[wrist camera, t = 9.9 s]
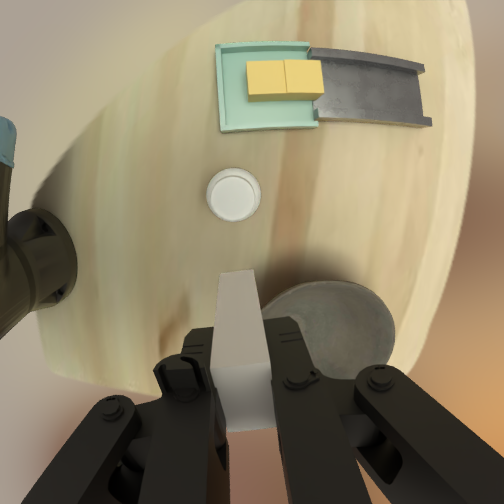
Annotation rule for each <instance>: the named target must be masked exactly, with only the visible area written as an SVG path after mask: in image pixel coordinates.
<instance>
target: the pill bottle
mask: <svg viewBox="0 0 504 504" xmlns="http://www.w3.org/2000/svg"><path fill="white" fill-rule="evenodd" d="M206 198H207V203H208V206H209V208H210V209H211V211H212V212H213V213H214V214H215V215H216V216H217V217H218V218H220V219H222V220H225V221H229V222H238V221H242V220H245V219H247V218H249V217H250V216H251V215H252V214H253V213H254V212H255V211H256V210H257V208H258V206H259V204H260V200H261V189H260V185H259V183H258V181H257V180H256V178H255V177H254V176H253V175H252V174H251V173H250V172H248V171H246V170H244V169H241V168H236V167H234V168H228V169H224V170H222V171H220V172H218V173H217V174H216V175H215V176H214V177H213V178H212V179H211V181H210V182H209V184H208V187H207V191H206Z"/></svg>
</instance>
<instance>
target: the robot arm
mask: <svg viewBox="0 0 504 504" xmlns="http://www.w3.org/2000/svg"><path fill="white" fill-rule="evenodd" d="M15 143H16V128H15V126H14V124H13V123H12V122H11V121H10V120H9V119H7V118H5V117H1V116H0V339H1V338H2V337H3V336H5V335H6V333H8V332H9V331H10V330H11V329H12V328H13V327H14V326H15V325H16V324H17V323H18V322H19V321H20V320H21V319H22V318H24V317H25V316H26V315H27V314H28V313H30V312H32V311H36V310H40V309H44V308H48V307H52V306H55V305H56V304H58V303H60V302H61V301H62V300H63V299H64V298H65V297H67V296H68V295H69V293H70V292H71V291H72V289H73V287H74V284H75V281H76V276H77V259H76V253H75V249H74V246H73V243H72V240H71V238H70V236H69V234H68V232H67V230H66V229H65V227H64V226H63V225H62V223H61V222H60V221H59V220H58V219H57V218H56V217H55V216H54V215H52V214H51V213H49V212H48V211H46V210H43V209H38V208H32V209H28V210H25V211H22V212H19V213H17V214H16V215H14V216H13V217H12V218H11V219H10V220H9V221H8V206H9V205H8V204H9V192H10V182H11V174H12V168H14V162H13V159H14V150H15ZM153 372H154V374H155V377H156V379H157V382H158V384H159V387H160V389H161V391H162V397H161V398H159V399H157V400H154V401H151V402H147V403H143V404H138V405H134V403H133V402H132V400H131V399H130V398H128V397H126V396H123V395H113V396H108V397H106V398H104V399H102V400H100V401H99V402H97V404H95V405H94V406H93V408H92V409H91V410H90V411H89V413H88V414H87V415H86V417H85V418H84V419H83V421H82V422H81V423H80V425H79V426H78V427H77V428H76V430H75V431H74V432H73V434H72V435H71V436H70V438H69V439H68V440H67V441H66V443H65V444H64V445H63V447H62V448H61V449H60V451H59V452H58V453H57V455H56V456H55V457H54V459H53V460H52V461H51V463H50V464H49V465H48V467H47V468H46V470H45V471H44V472H43V474H42V475H41V476H40V478H39V479H38V480H37V482H36V483H35V484H34V486H33V487H32V489H31V490H30V491H29V493H28V494H27V496H26V497H25V498H24V500H23V501H22V503H21V504H230V479H229V478H230V477H229V475H230V473H229V445H228V441H227V438H226V427H227V430H228V432H238V431H248V430H258V429H266V428H273V427H277V432H278V441H279V450H280V454H281V460H282V466H283V472H284V478H285V484H286V490H287V496H288V502H289V504H372V502H371V499H370V497H369V494H368V491H367V488H366V485H365V483H364V480H363V478H362V475H361V472H360V469H359V466H358V464H357V461H356V459H357V460H358V462H359V463H360V464H361V466H362V467H363V468H364V470H365V471H366V472H367V474H368V475H369V476H370V477H371V479H372V480H373V481H374V482H375V484H376V485H377V486H378V488H379V489H380V490H381V491H382V493H383V494H384V495H385V496H386V498H387V499H388V500H389V501H390V503H391V504H504V458H503V457H502V456H501V455H500V454H499V453H498V452H496V451H495V450H494V449H493V448H492V447H491V446H489V445H488V444H487V443H486V442H485V441H483V440H482V439H481V438H480V437H479V436H477V435H476V434H475V433H474V432H473V431H472V430H470V429H469V428H468V427H467V426H466V425H464V424H463V423H462V422H461V421H460V420H459V419H457V418H456V417H455V416H454V415H453V414H451V413H450V412H449V411H448V410H447V409H445V408H444V407H443V406H442V405H441V404H439V403H438V402H437V401H436V400H435V399H434V398H432V397H431V396H430V395H429V394H428V393H426V392H425V391H424V390H423V389H422V388H420V387H419V386H418V385H417V384H415V382H413V381H412V380H411V379H410V378H408V377H407V376H406V375H405V374H404V373H403V372H401V371H400V370H398V369H397V368H395V367H393V366H389V365H385V364H376V365H372V366H368V367H366V368H364V369H363V370H361V371H360V372H359V373H358V375H357V376H356V379H334V378H330V377H327V376H325V375H323V374H322V373H321V371H320V370H319V369H317V368H315V366H314V364H313V362H312V359H311V356H310V354H309V351H308V349H307V346H306V343H305V341H304V339H303V336H302V333H301V330H300V328H299V325H298V323H297V322H296V321H295V320H294V319H292V318H291V317H290V316H286V317H279V318H272V319H265V320H262V314H261V309H260V303H259V298H258V293H257V287H256V282H255V276H254V271H253V269H249V270H242V271H234V272H226V273H220V276H219V285H218V294H217V303H216V312H215V322H214V327H207V328H197V329H192V330H191V331H190V332H189V333H188V334H187V335H186V337H185V339H184V343H183V348H182V351H181V354H176V355H171V356H169V357H167V358H164V359H163V360H161V361H160V362H159V363H158V364H157V365H156V366H155V368H154V369H153Z"/></svg>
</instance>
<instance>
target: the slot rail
mask: <svg viewBox="0 0 504 504" xmlns="http://www.w3.org/2000/svg"><path fill="white" fill-rule="evenodd" d="M307 60H320V61H321V69H322V77H323V86H324V94H323V95H321V96H320V97H319V98H318V99H317V100H316V101H314V100H312V105H313V116H314V121H341V122H362V123H377V124H389V125H399V126H408V127H416V128H424V127H432V118H430V117H424V116H423V110H422V102H421V94H420V87H419V81H418V75H419V74H422V73H424V72H425V69H424V64H421V63H416V62H412V61H408V60H403V59H398V58H394V57H388V56H383V55H377V54H371V53H364V52H357V51H348V50H339V49H328V48H313V47H311V48H310V50H309V51H308V53H307Z"/></svg>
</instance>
